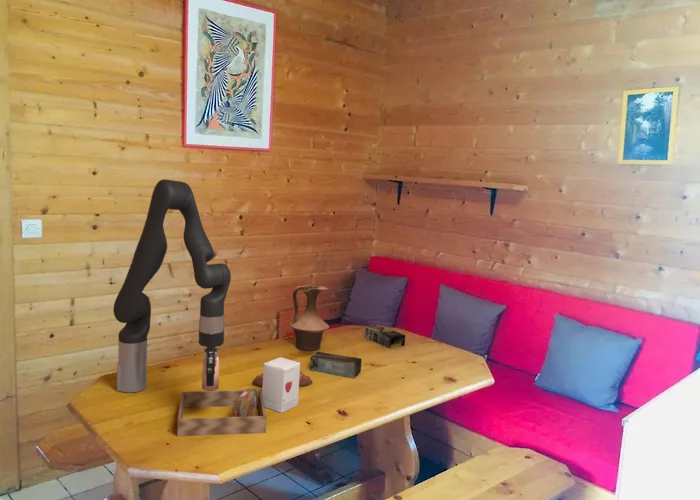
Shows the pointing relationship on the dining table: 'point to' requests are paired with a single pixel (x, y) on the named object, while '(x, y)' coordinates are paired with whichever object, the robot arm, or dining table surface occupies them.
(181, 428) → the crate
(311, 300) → the pitcher
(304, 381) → the pastry
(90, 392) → the dining table surface
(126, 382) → the robot arm
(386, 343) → the dark slotted box
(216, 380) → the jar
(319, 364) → the beverage carton
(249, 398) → the tin
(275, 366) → the supplement box
